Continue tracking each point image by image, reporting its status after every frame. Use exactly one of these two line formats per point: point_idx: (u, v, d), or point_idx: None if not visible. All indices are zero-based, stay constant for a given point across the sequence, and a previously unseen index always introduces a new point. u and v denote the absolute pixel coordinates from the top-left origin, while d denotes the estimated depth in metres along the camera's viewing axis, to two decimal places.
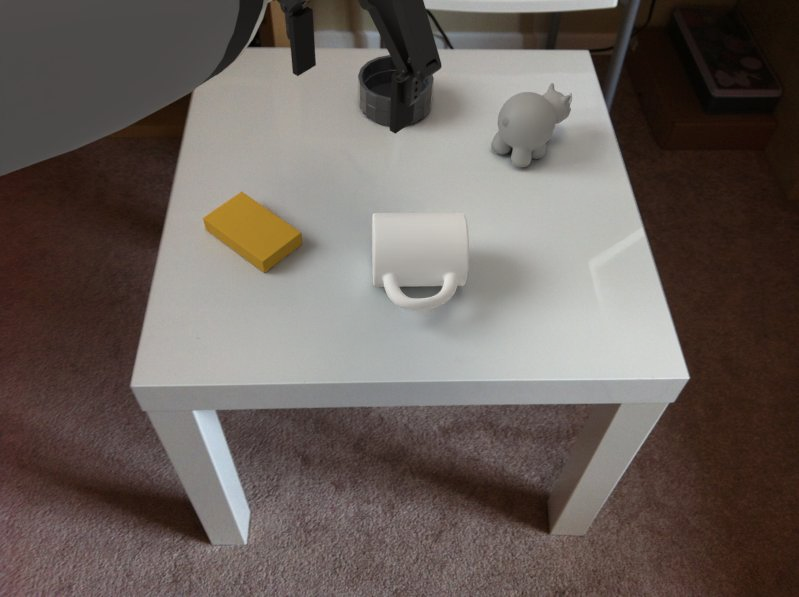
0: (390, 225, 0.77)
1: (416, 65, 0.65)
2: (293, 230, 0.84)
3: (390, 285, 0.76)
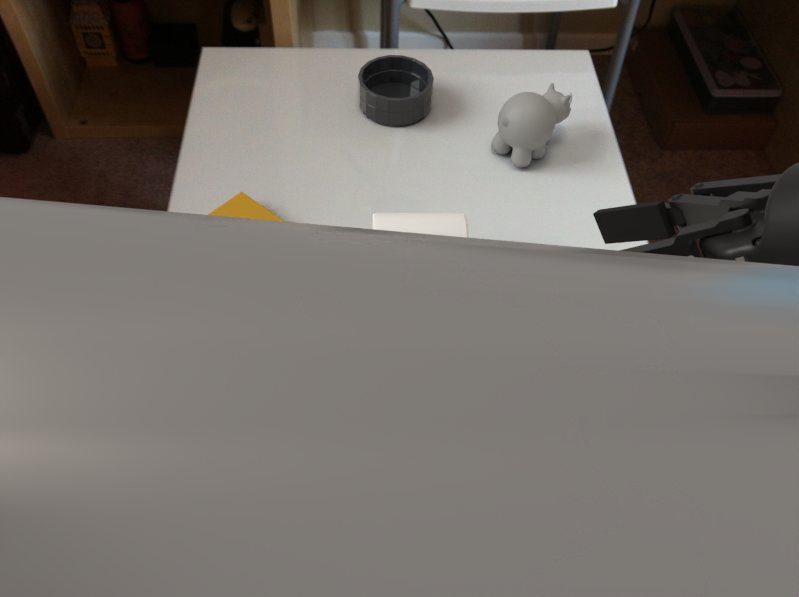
0: (390, 225, 0.77)
1: None
2: None
3: None
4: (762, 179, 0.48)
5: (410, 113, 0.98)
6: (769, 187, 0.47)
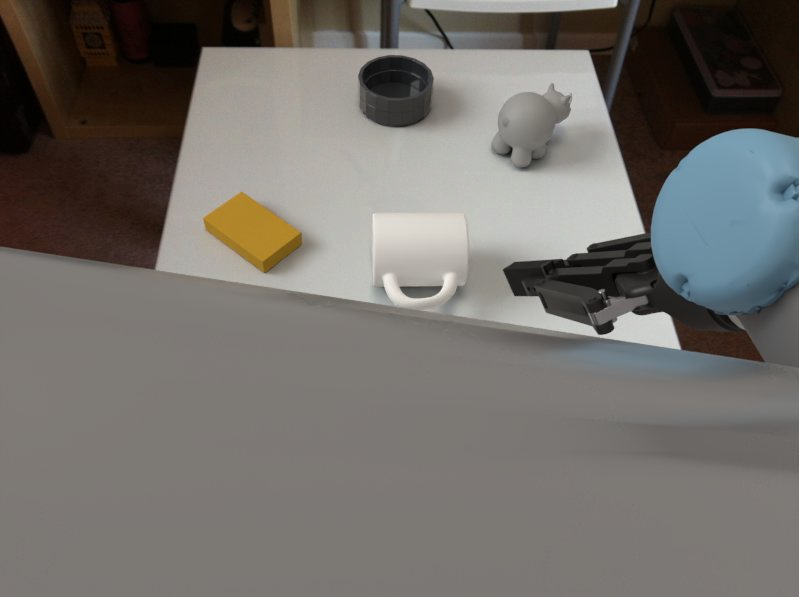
0: (390, 225, 0.77)
1: (546, 283, 0.57)
2: (293, 230, 0.84)
3: (390, 285, 0.76)
4: None
5: (410, 113, 0.98)
6: None
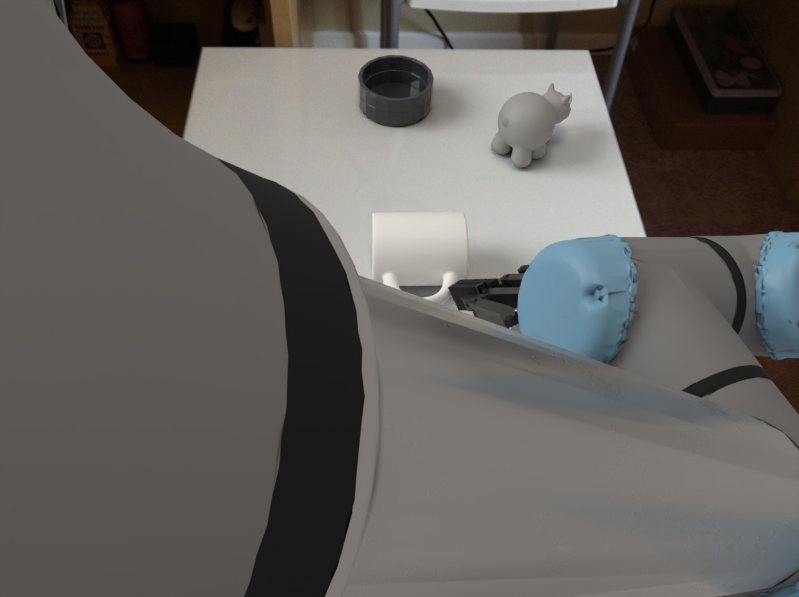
0: (390, 224, 0.77)
1: (478, 301, 0.67)
2: None
3: (389, 285, 0.76)
4: None
5: (410, 113, 0.98)
6: None
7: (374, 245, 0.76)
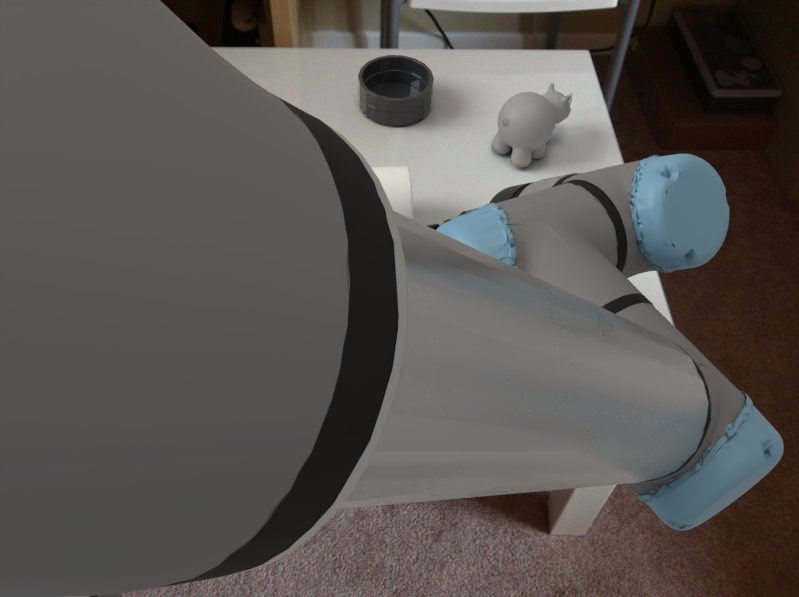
0: None
1: None
2: None
3: None
4: None
5: (410, 113, 0.98)
6: None
7: None
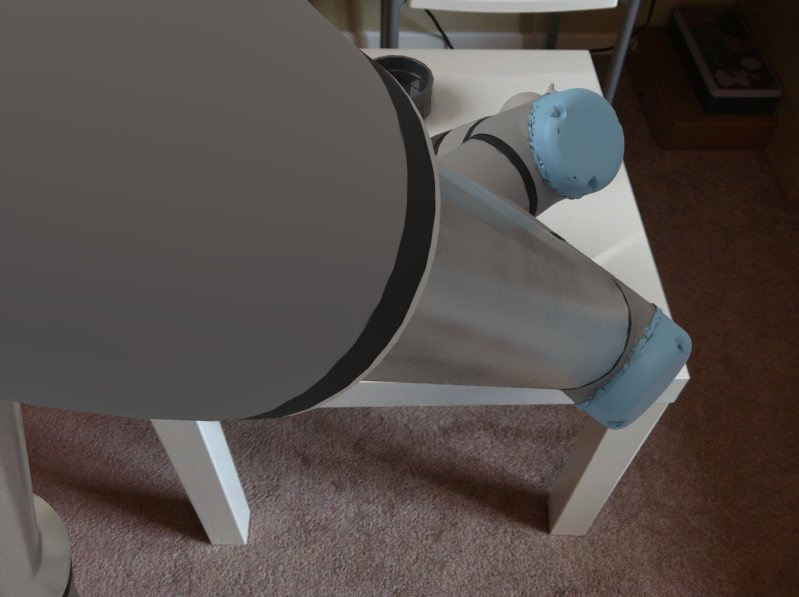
0: None
1: None
2: None
3: None
4: None
5: None
6: None
7: None
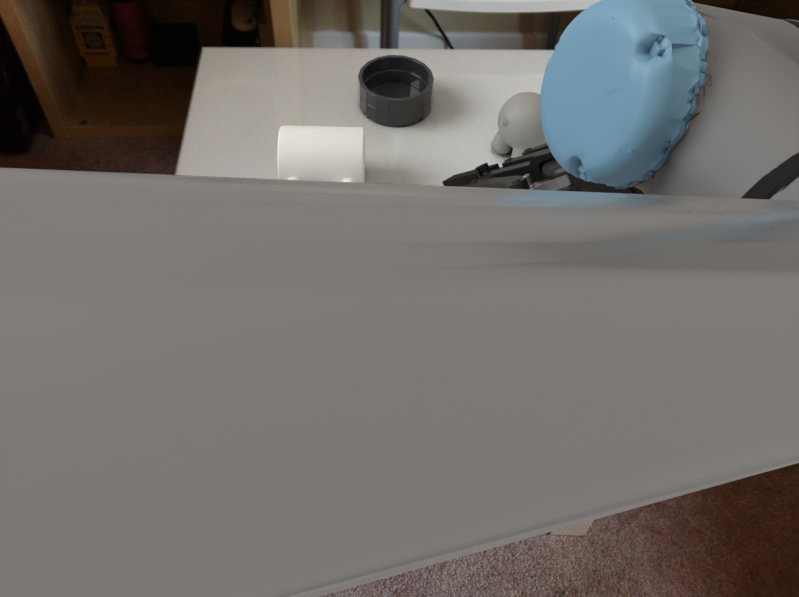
0: (293, 134, 0.85)
1: (478, 181, 0.57)
2: None
3: None
4: None
5: (410, 113, 0.98)
6: None
7: (278, 151, 0.85)
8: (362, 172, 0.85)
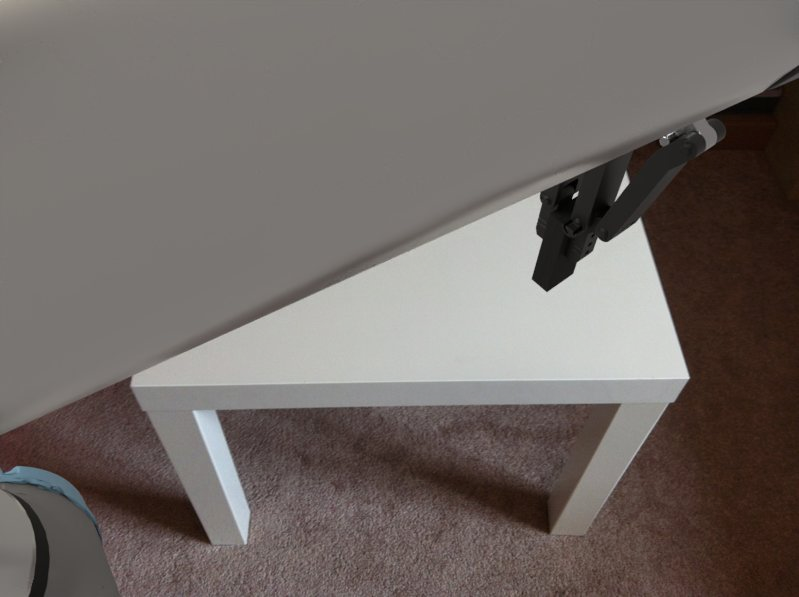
0: None
1: (609, 225, 0.43)
2: None
3: None
4: None
5: None
6: None
7: None
8: None
